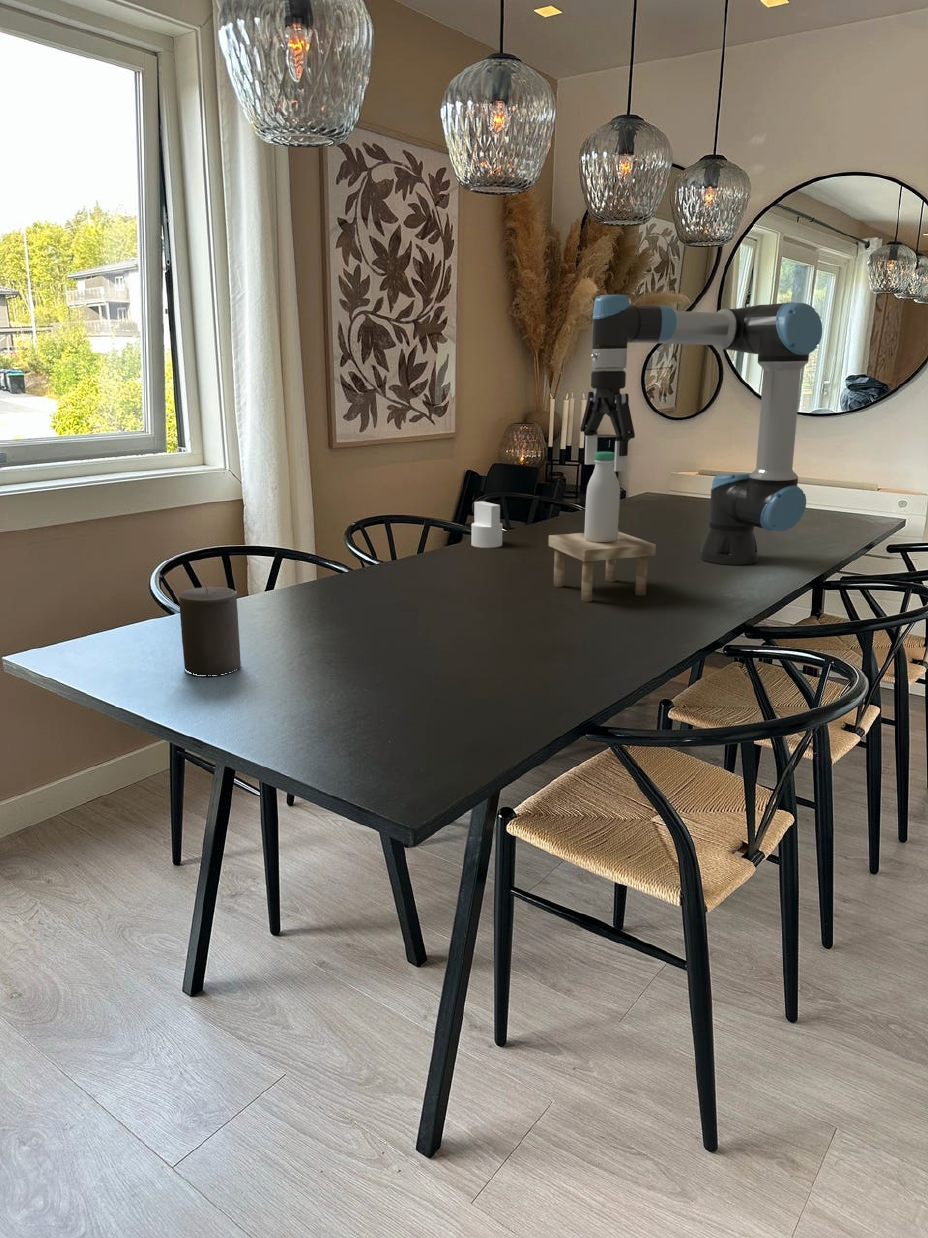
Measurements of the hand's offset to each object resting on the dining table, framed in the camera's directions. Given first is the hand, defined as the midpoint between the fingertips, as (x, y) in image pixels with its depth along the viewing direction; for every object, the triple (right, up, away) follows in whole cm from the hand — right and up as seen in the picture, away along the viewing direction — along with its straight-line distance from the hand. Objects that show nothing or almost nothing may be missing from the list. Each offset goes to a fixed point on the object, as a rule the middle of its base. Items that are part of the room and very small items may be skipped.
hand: (605, 467), depth 201 cm
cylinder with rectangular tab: (-25, -13, +59) cm, 65 cm away
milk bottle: (0, -16, +5) cm, 17 cm away
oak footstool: (0, -27, +8) cm, 29 cm away
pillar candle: (-76, -43, -44) cm, 98 cm away
